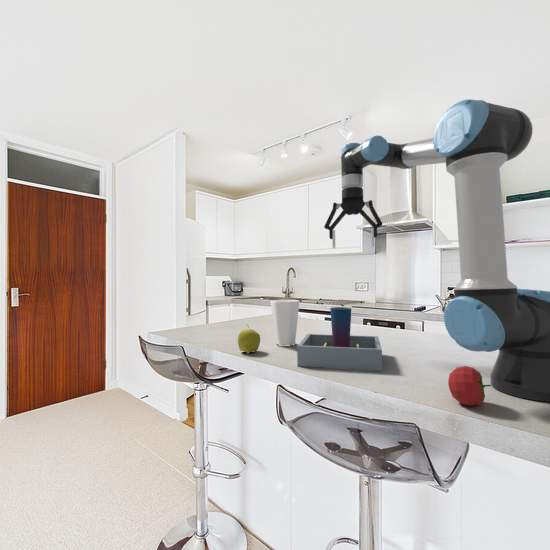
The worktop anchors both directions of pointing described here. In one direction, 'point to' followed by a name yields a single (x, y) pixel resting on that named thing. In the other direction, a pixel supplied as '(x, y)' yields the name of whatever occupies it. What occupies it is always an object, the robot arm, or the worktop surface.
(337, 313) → the cup
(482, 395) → the tomato
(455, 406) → the worktop surface
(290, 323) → the cup
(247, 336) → the apple
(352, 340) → the walled box
